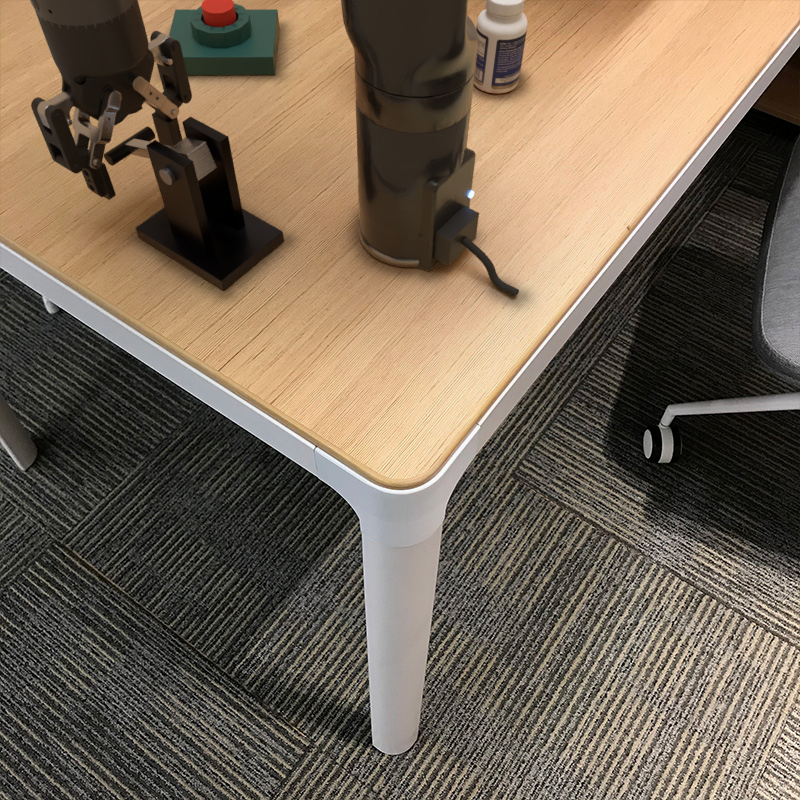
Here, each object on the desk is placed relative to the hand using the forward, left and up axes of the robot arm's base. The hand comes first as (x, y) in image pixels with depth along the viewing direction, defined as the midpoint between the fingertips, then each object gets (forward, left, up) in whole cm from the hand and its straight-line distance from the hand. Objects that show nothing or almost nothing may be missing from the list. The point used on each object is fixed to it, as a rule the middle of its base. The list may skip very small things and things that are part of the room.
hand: (139, 171), depth 71 cm
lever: (-5, 0, +3) cm, 6 cm away
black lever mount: (-8, 0, -4) cm, 9 cm away
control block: (+13, -24, -4) cm, 27 cm away
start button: (+13, -23, 0) cm, 27 cm away
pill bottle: (-15, -38, -4) cm, 41 cm away
